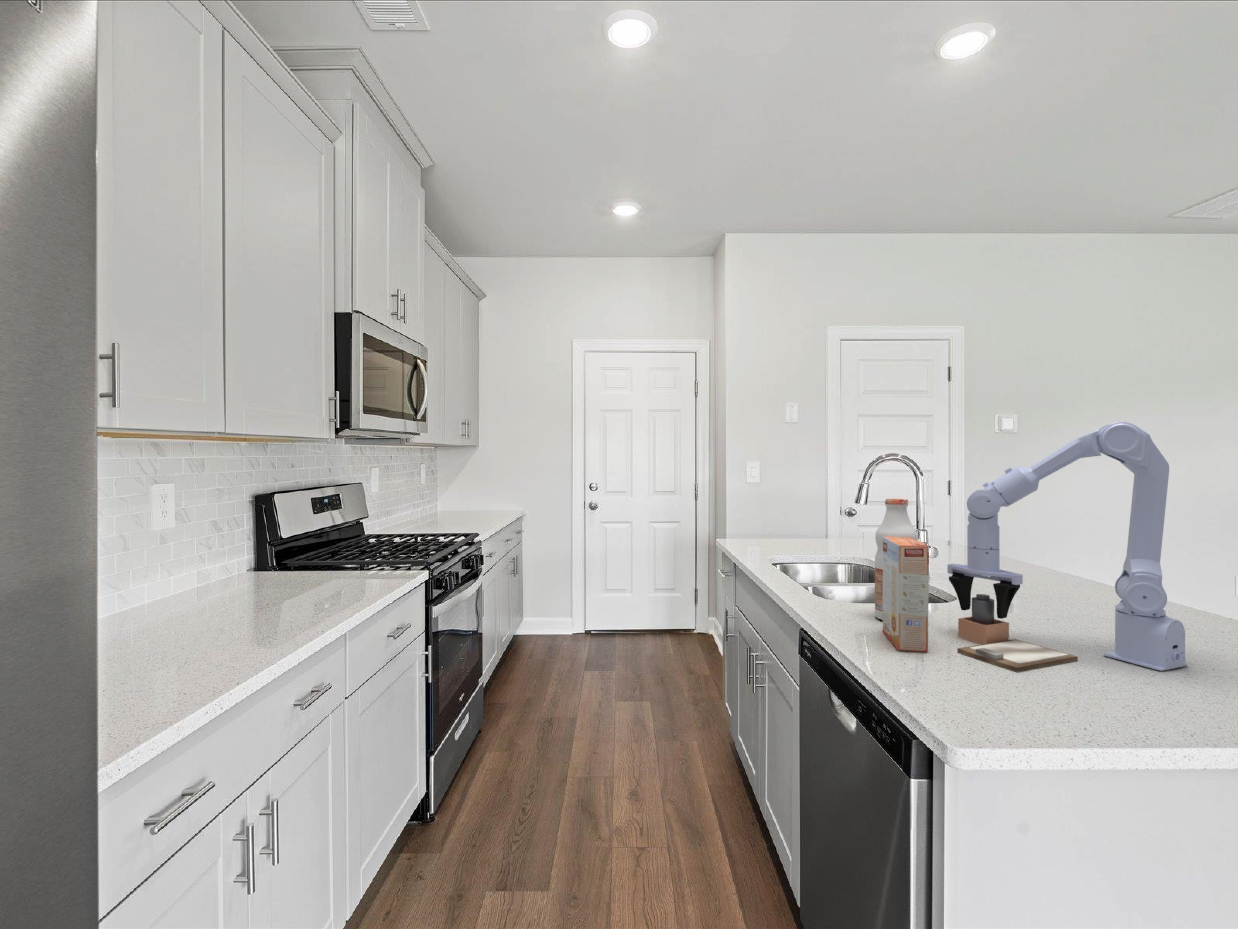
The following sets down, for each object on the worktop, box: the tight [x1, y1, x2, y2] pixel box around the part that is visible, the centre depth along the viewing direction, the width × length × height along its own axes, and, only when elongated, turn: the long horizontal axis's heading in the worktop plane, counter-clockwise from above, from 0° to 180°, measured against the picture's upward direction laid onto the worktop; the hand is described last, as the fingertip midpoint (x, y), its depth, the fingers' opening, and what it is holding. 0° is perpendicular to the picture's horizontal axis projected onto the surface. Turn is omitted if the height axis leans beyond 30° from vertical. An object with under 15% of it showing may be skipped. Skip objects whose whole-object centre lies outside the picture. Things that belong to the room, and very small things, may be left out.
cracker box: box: [881, 537, 930, 653], centre depth 127 cm, size 14×6×21 cm, turn 168°
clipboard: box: [956, 638, 1079, 673], centre depth 118 cm, size 12×16×2 cm
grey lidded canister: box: [971, 593, 995, 625], centre depth 128 cm, size 4×4×9 cm
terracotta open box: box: [957, 616, 1010, 645], centre depth 128 cm, size 6×6×4 cm
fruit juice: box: [874, 498, 919, 620], centre depth 145 cm, size 9×9×28 cm
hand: (983, 613), depth 128 cm, fingers open, 7 cm apart
